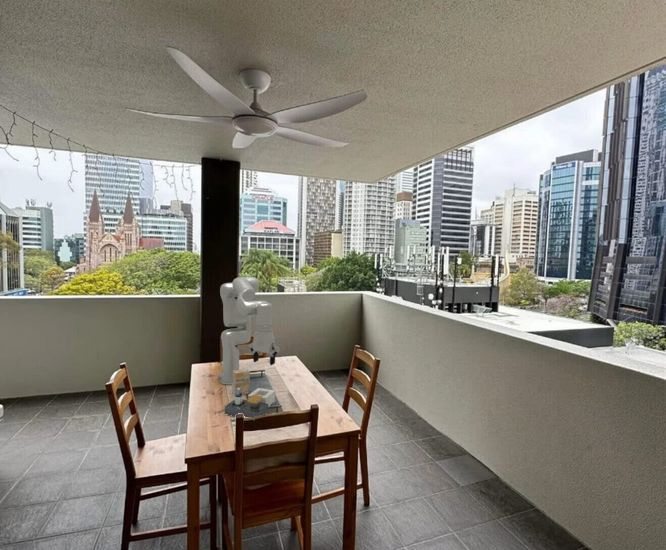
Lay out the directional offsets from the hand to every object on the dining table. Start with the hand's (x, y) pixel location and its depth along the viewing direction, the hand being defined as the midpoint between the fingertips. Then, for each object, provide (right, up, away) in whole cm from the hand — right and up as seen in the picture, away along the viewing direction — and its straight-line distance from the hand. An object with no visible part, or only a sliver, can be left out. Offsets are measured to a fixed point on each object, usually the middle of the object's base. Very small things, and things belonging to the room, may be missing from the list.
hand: (264, 362), depth 165 cm
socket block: (-8, -24, -1) cm, 25 cm away
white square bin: (-3, -24, +8) cm, 25 cm away
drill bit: (-12, -24, 0) cm, 27 cm away
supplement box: (-17, -23, +21) cm, 35 cm away
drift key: (-4, -21, -3) cm, 21 cm away
